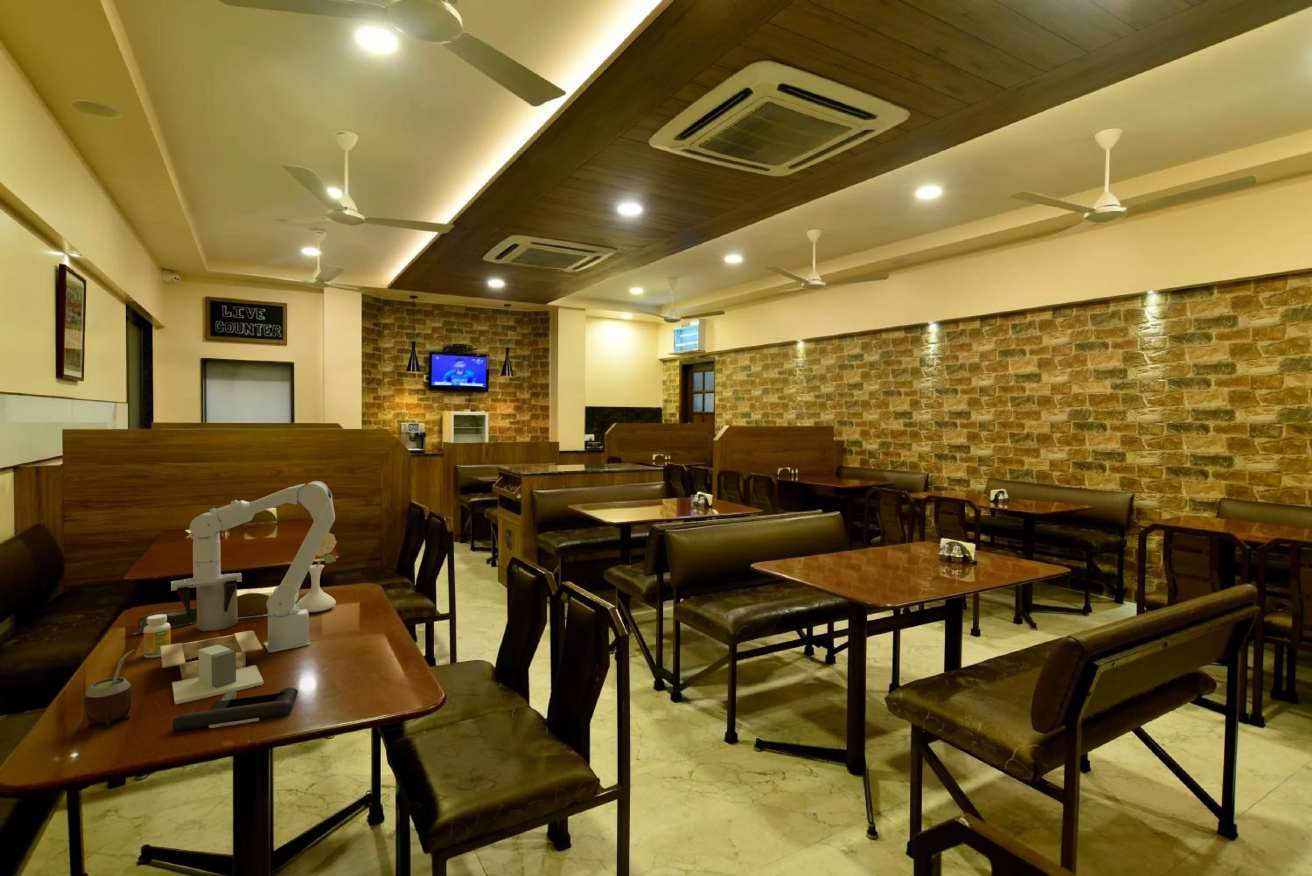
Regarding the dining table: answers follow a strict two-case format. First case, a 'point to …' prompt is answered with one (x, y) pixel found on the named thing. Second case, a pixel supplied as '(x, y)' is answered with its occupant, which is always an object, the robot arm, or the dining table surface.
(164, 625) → the supplement bottle
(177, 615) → the dark grey stapler
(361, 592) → the dining table surface
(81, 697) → the dining table surface
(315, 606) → the flower in vase
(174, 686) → the sage board
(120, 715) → the mate gourd
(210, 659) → the block
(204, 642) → the carton
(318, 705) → the dining table surface
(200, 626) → the pillar candle
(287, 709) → the door handle
